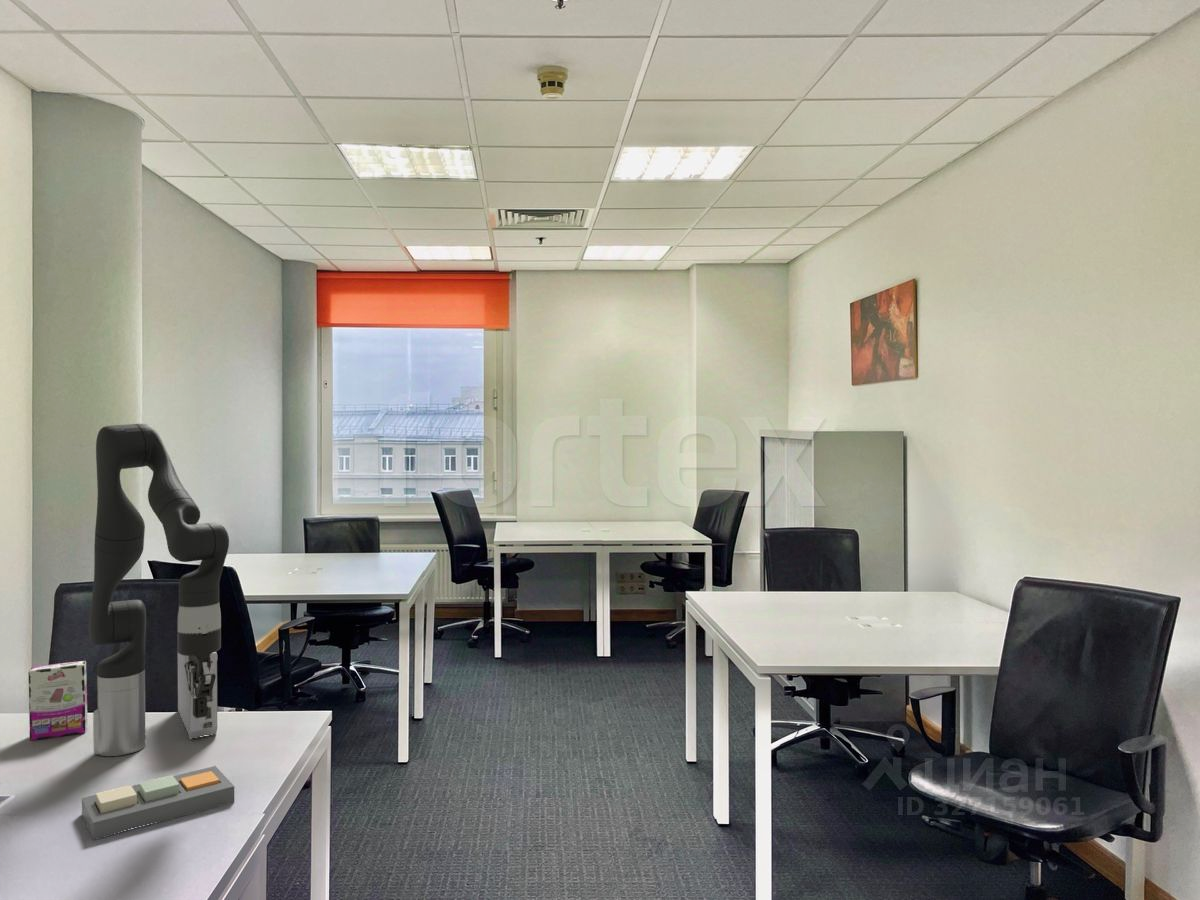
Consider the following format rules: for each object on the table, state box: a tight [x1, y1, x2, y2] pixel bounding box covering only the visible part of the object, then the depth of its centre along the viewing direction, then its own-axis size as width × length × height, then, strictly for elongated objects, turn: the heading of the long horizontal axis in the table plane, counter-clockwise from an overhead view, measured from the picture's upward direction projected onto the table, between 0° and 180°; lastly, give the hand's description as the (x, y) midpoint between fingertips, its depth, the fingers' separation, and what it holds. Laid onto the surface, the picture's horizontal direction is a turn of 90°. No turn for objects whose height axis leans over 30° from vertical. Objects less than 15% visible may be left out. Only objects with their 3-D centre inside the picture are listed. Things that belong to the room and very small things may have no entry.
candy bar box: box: [27, 660, 88, 742], centre depth 191 cm, size 11×5×16 cm, turn 117°
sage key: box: [139, 774, 179, 802], centre depth 151 cm, size 6×6×2 cm
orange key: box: [180, 771, 219, 791], centre depth 156 cm, size 6×6×2 cm
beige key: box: [95, 784, 137, 813], centre depth 147 cm, size 6×6×2 cm
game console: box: [177, 633, 218, 738], centre depth 198 cm, size 6×27×20 cm, turn 33°
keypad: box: [81, 765, 235, 841], centre depth 151 cm, size 23×13×3 cm, turn 130°
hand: (199, 716), depth 156 cm, fingers closed
